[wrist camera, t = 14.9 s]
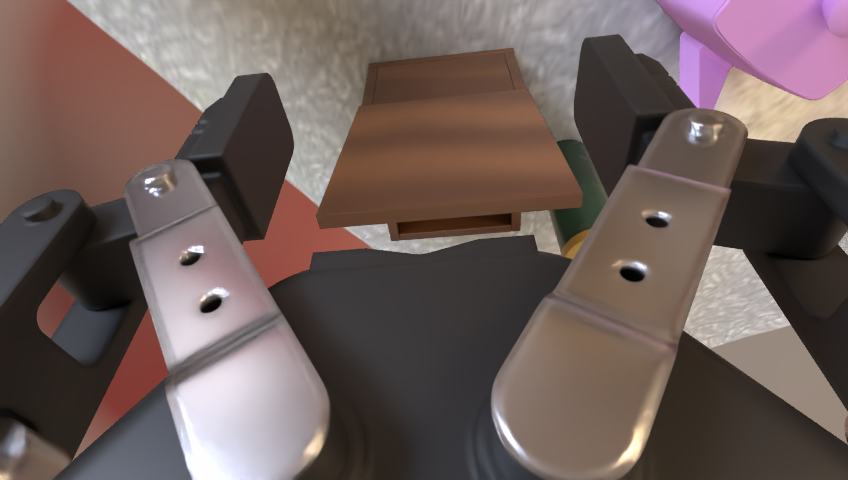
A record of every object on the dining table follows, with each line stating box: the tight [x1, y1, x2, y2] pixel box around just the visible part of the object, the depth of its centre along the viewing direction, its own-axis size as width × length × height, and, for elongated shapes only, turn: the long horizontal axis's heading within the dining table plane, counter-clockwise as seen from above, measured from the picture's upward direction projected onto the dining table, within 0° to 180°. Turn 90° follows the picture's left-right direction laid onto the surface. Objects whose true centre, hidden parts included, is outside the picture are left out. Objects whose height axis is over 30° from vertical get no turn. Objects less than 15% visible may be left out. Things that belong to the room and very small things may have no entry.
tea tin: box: [549, 140, 608, 259], centre depth 44 cm, size 6×6×14 cm
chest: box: [362, 48, 526, 241], centre depth 44 cm, size 15×13×8 cm
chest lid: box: [316, 89, 583, 229], centre depth 29 cm, size 16×13×1 cm
